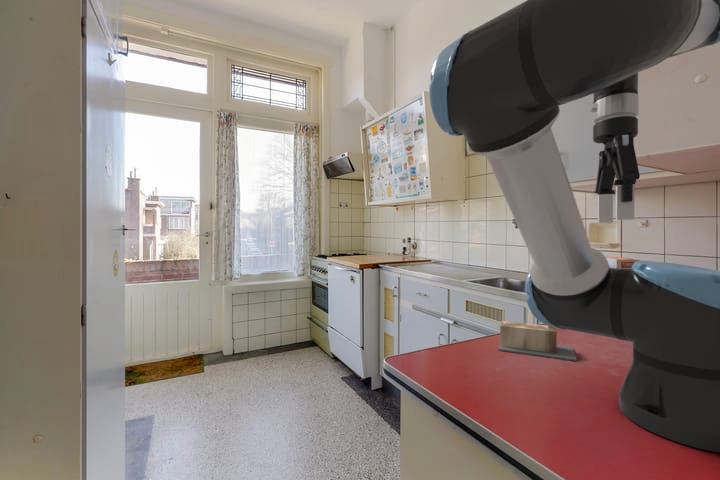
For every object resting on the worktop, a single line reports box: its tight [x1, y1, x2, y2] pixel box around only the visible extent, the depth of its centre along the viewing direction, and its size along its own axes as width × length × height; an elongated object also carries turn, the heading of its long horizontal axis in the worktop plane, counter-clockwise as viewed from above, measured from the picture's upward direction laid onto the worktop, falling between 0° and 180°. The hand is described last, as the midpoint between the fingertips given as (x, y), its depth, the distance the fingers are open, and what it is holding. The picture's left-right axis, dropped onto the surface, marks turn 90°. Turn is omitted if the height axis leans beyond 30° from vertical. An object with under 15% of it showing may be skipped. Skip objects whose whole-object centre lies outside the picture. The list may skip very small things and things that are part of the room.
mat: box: [497, 343, 578, 362], centre depth 80 cm, size 9×16×1 cm, turn 63°
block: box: [499, 320, 557, 353], centre depth 82 cm, size 5×5×12 cm
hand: (614, 221), depth 70 cm, fingers open, 13 cm apart
